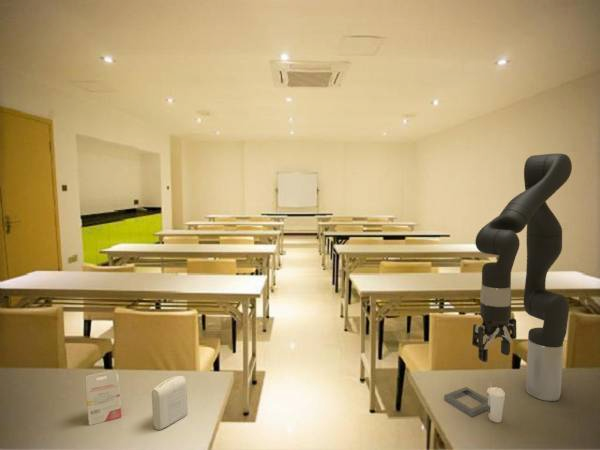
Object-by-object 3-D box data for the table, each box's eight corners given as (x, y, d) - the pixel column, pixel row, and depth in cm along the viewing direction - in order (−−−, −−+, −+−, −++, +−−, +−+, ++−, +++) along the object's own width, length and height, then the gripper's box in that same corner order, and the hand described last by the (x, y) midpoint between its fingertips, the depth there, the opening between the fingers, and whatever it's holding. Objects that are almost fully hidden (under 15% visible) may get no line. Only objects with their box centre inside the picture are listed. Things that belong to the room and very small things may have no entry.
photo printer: (181, 409, 115) (179, 370, 113) (190, 413, 112) (188, 374, 111) (150, 427, 106) (148, 385, 105) (159, 432, 104) (157, 390, 103)
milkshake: (496, 412, 110) (498, 380, 109) (507, 423, 105) (508, 389, 104) (481, 413, 110) (482, 380, 109) (491, 424, 105) (492, 390, 104)
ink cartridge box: (121, 408, 115) (118, 363, 114) (121, 417, 111) (118, 370, 109) (89, 416, 112) (85, 369, 110) (88, 426, 107) (84, 376, 106)
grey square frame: (466, 391, 122) (466, 386, 122) (494, 407, 113) (494, 402, 113) (444, 399, 117) (444, 395, 117) (471, 416, 108) (471, 411, 108)
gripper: (501, 293, 109) (500, 347, 111) (465, 301, 104) (464, 357, 106) (526, 300, 103) (524, 357, 104) (488, 309, 97) (487, 369, 99)
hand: (494, 357), depth 105 cm, fingers open, 8 cm apart
